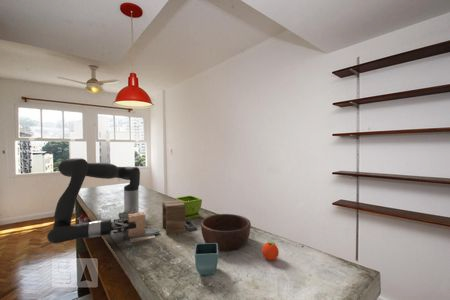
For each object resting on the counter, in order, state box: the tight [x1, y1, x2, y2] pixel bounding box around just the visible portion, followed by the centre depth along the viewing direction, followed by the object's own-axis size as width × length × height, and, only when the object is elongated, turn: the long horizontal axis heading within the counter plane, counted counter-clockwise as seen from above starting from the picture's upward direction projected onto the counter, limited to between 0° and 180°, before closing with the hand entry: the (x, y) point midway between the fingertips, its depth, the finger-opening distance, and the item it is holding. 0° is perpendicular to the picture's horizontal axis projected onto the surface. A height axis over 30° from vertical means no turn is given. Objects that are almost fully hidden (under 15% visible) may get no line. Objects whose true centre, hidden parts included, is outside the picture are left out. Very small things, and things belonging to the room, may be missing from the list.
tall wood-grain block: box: [127, 211, 160, 238], centre depth 114 cm, size 7×15×11 cm, turn 117°
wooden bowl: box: [200, 213, 252, 252], centre depth 107 cm, size 25×25×10 cm
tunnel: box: [161, 199, 186, 236], centre depth 122 cm, size 12×10×16 cm
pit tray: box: [185, 219, 198, 232], centre depth 126 cm, size 12×5×2 cm, turn 27°
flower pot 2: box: [194, 243, 219, 276], centre depth 82 cm, size 9×9×9 cm
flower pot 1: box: [174, 195, 203, 221], centre depth 143 cm, size 14×14×13 cm
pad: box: [129, 234, 156, 243], centre depth 114 cm, size 14×12×1 cm
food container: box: [118, 207, 137, 225], centre depth 125 cm, size 12×6×10 cm, turn 168°
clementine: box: [261, 241, 280, 261], centre depth 91 cm, size 8×7×7 cm
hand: (135, 222), depth 112 cm, fingers open, 8 cm apart
